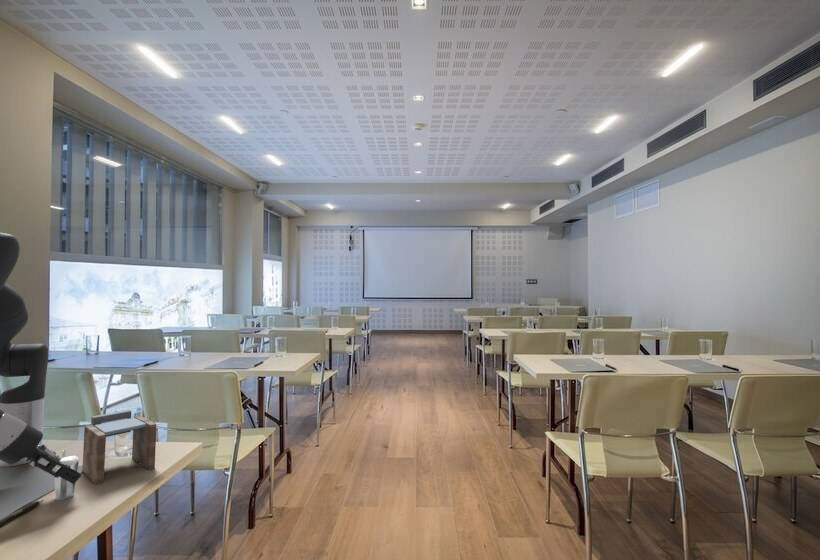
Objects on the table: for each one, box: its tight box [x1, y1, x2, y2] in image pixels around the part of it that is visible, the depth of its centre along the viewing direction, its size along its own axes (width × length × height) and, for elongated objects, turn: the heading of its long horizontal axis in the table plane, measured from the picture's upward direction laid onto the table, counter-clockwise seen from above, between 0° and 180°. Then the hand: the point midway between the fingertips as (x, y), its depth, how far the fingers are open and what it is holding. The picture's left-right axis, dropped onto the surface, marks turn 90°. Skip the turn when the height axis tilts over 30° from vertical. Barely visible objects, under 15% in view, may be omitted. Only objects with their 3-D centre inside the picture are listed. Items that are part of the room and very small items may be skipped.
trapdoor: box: [90, 409, 146, 438], centre depth 111 cm, size 13×9×6 cm
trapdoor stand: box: [81, 415, 157, 485], centre depth 109 cm, size 13×13×12 cm
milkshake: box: [53, 449, 80, 501], centre depth 94 cm, size 4×5×10 cm
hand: (73, 474), depth 95 cm, fingers open, 7 cm apart
